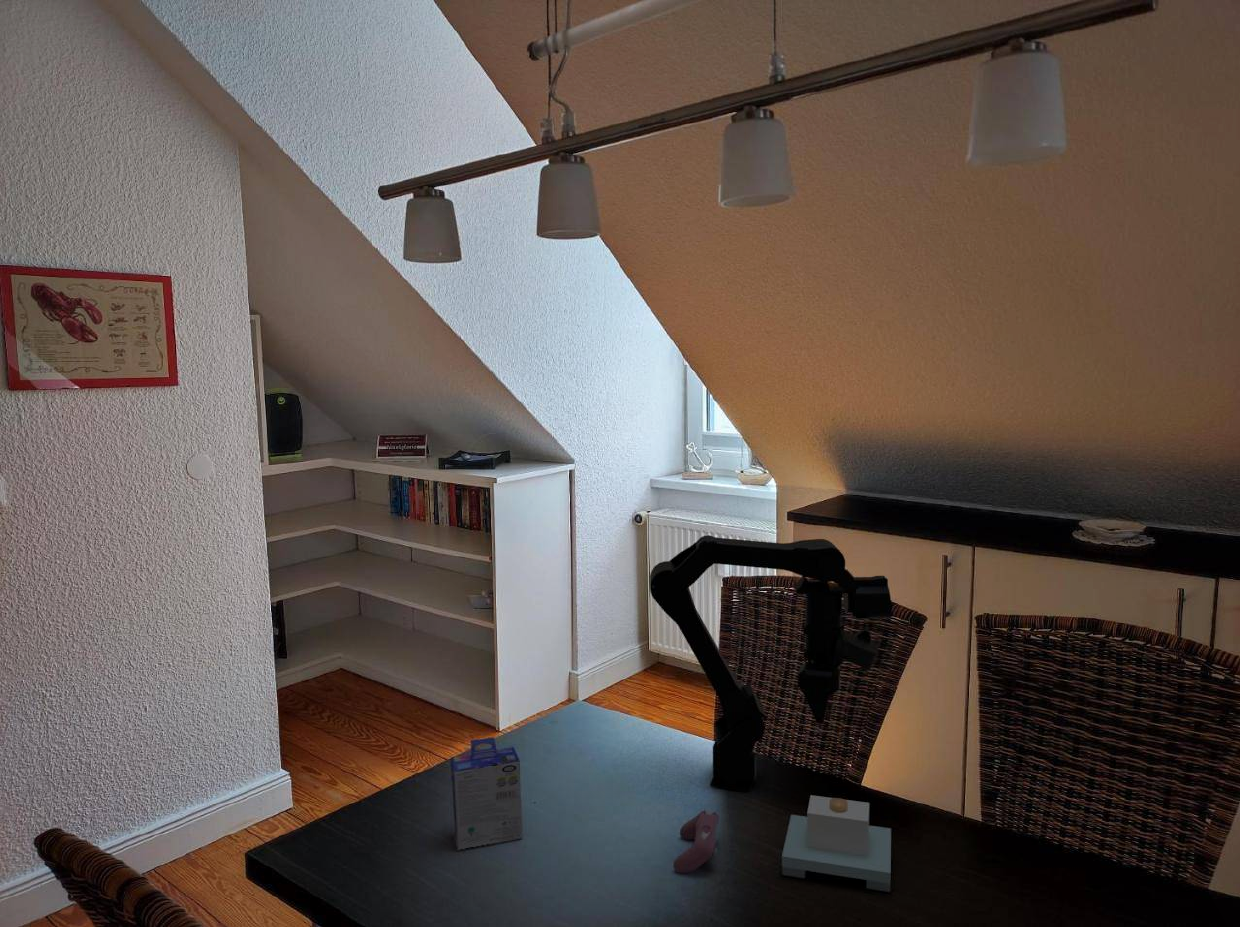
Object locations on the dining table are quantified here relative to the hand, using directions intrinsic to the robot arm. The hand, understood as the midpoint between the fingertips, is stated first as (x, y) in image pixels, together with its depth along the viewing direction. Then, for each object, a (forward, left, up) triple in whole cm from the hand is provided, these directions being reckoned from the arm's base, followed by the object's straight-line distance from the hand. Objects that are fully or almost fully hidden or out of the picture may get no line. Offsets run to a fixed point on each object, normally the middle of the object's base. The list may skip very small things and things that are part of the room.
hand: (822, 711), depth 142 cm
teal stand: (+4, -23, -12) cm, 26 cm away
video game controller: (-15, -27, -12) cm, 33 cm away
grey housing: (+4, -23, -9) cm, 25 cm away
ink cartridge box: (-46, -30, -12) cm, 56 cm away
